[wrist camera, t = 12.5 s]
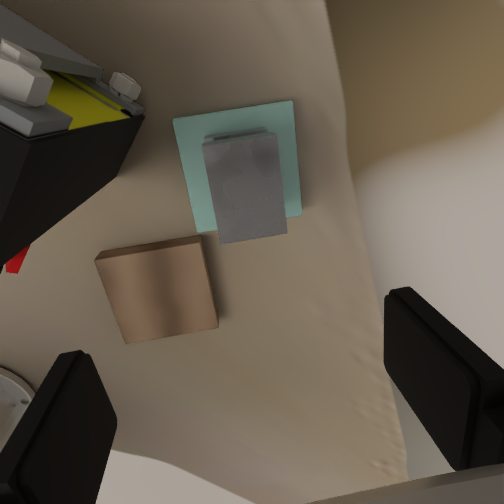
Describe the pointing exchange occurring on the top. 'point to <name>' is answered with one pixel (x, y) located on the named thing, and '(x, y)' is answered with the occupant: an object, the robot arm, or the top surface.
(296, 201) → the stand
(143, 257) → the stand
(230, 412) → the top surface
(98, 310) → the top surface
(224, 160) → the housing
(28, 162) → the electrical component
